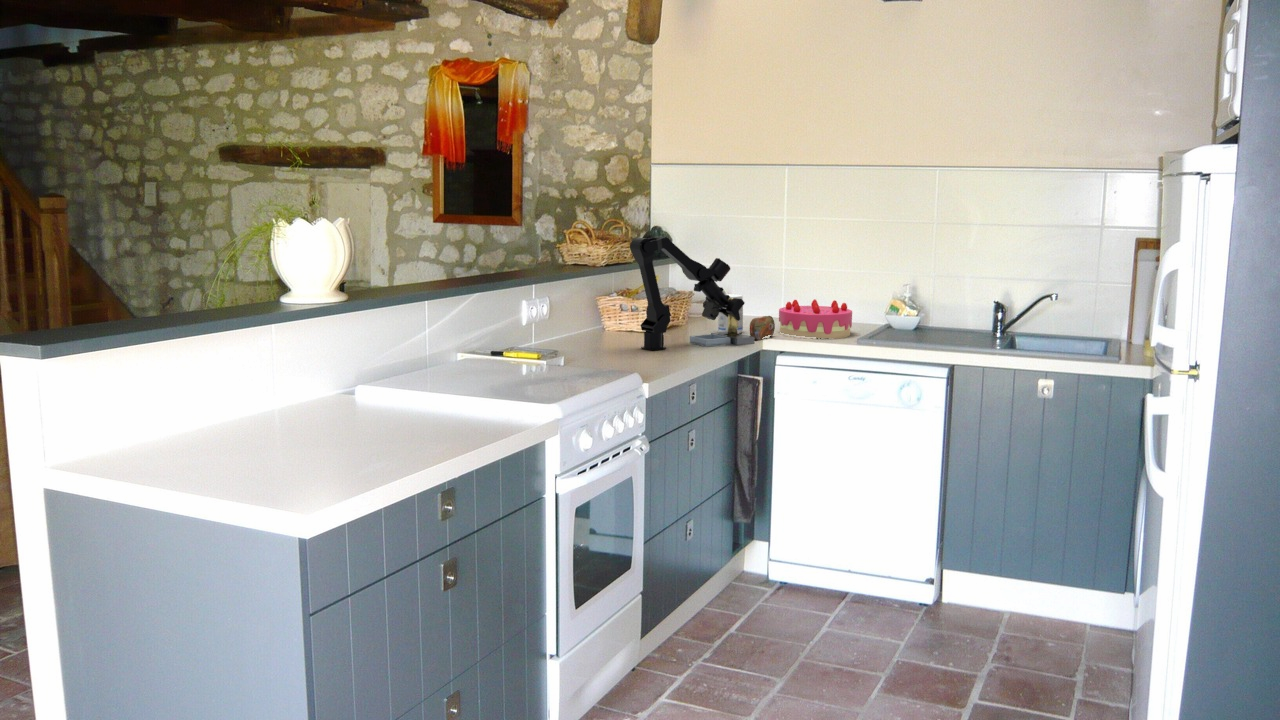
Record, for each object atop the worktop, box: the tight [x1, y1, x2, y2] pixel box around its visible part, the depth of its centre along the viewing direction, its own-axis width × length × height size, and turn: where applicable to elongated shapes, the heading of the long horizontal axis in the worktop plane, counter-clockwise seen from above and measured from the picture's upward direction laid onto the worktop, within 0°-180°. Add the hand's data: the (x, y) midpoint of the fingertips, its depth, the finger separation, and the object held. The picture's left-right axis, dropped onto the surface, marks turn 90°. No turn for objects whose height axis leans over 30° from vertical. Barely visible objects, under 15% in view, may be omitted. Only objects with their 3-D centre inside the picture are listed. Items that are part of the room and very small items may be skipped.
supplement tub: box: [717, 293, 744, 334], centre depth 391 cm, size 10×10×15 cm
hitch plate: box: [710, 331, 756, 346], centre depth 369 cm, size 8×16×2 cm, turn 32°
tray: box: [689, 333, 731, 348], centre depth 364 cm, size 11×11×2 cm
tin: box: [749, 315, 776, 341], centre depth 377 cm, size 15×3×8 cm, turn 143°
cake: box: [778, 299, 853, 339], centre depth 389 cm, size 28×28×12 cm
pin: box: [728, 297, 740, 336], centre depth 368 cm, size 5×5×16 cm
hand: (735, 319), depth 369 cm, fingers closed on pin, 4 cm apart
